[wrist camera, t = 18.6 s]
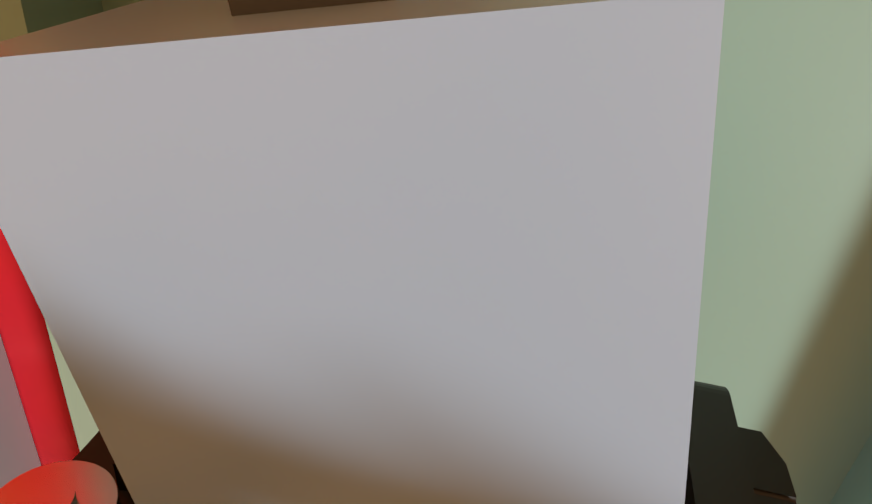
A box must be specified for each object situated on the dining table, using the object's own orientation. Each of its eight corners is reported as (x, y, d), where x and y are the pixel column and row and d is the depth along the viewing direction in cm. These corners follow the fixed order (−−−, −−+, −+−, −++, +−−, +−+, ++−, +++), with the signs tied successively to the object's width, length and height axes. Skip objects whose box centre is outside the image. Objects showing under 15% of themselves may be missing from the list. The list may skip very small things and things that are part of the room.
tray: (-22, -582, 8) (-237, -740, 6) (1522, -563, 6) (2018, -797, 4) (177, 541, 19) (125, 622, 17) (742, 688, 17) (762, 802, 15)
